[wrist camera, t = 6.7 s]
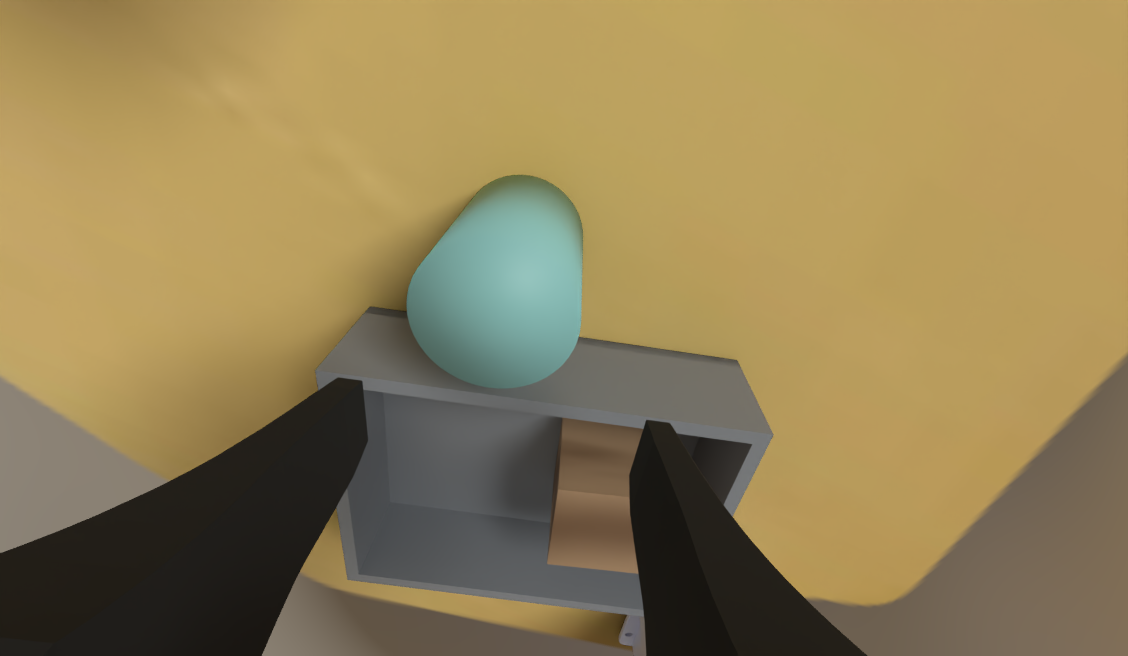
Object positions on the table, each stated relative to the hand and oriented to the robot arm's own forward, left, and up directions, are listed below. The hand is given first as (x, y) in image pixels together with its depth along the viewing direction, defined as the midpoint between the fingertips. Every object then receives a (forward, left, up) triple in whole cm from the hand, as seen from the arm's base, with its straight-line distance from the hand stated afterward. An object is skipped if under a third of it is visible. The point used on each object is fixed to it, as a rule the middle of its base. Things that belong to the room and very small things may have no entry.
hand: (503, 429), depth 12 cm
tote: (-9, -1, -10) cm, 13 cm away
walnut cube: (-9, -5, -9) cm, 14 cm away
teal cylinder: (+2, +1, -10) cm, 10 cm away
